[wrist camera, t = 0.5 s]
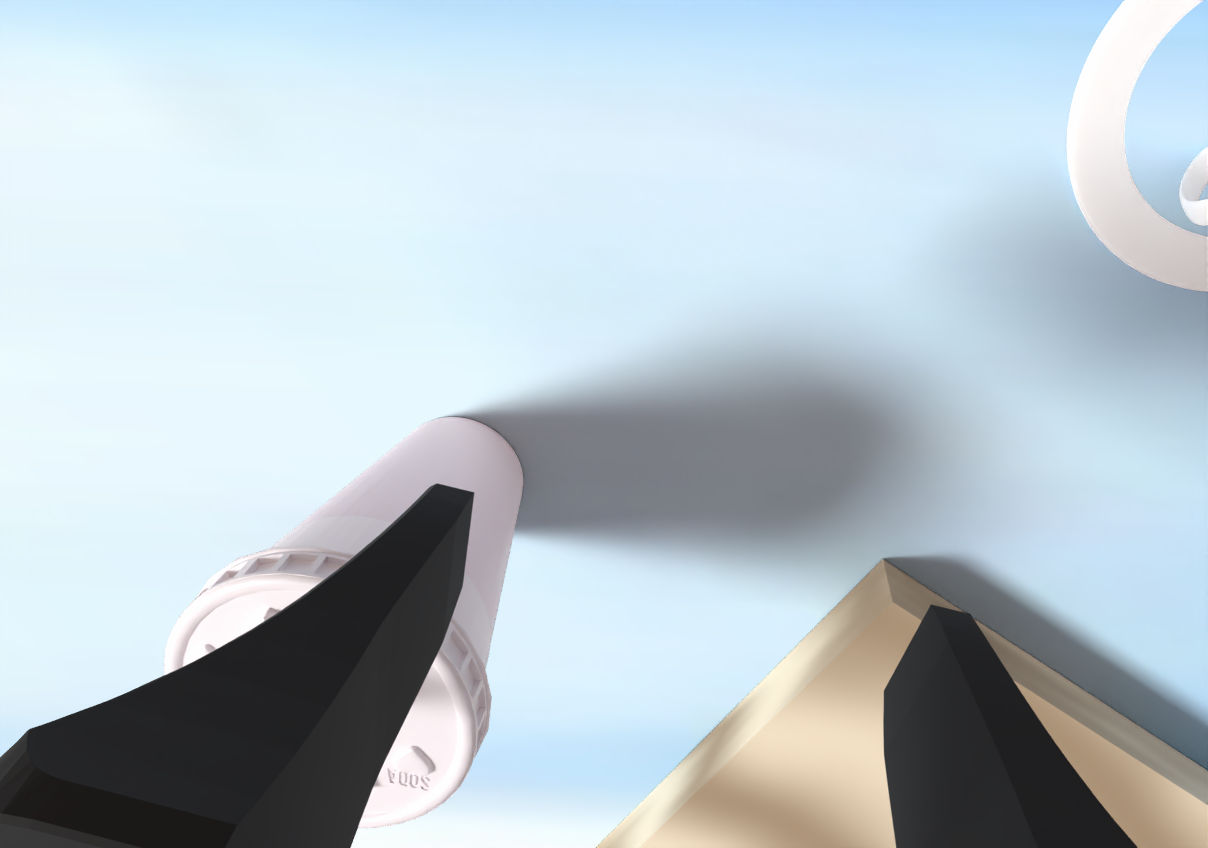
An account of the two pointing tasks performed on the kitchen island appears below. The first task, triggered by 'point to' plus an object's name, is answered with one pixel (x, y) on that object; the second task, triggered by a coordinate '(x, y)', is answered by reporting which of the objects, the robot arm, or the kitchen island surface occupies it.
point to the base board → (856, 745)
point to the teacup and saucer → (1102, 157)
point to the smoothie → (335, 535)
